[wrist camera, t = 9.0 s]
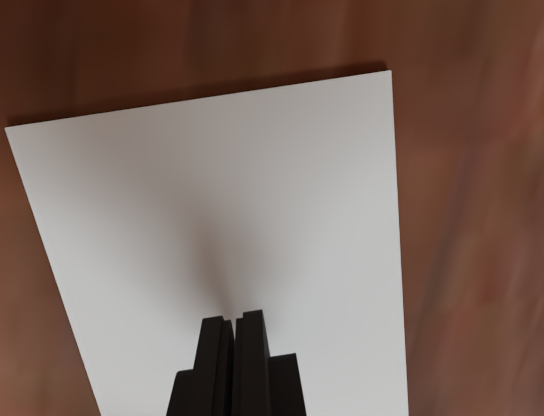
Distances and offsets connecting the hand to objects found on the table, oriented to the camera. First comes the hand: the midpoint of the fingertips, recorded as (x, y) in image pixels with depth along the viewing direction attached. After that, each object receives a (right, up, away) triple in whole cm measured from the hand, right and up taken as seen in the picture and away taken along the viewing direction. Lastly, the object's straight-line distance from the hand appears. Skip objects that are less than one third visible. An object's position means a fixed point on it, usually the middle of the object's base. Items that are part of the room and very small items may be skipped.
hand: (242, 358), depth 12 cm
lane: (+1, -8, +4) cm, 9 cm away
